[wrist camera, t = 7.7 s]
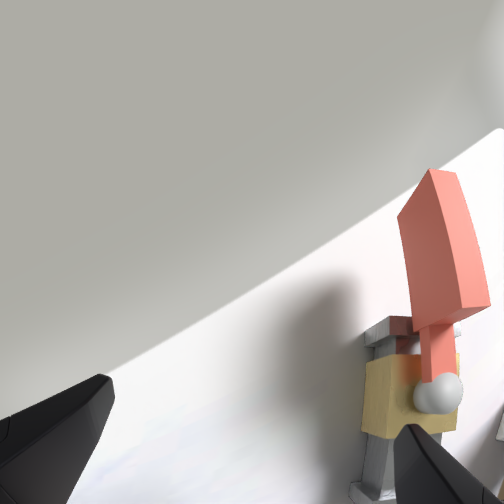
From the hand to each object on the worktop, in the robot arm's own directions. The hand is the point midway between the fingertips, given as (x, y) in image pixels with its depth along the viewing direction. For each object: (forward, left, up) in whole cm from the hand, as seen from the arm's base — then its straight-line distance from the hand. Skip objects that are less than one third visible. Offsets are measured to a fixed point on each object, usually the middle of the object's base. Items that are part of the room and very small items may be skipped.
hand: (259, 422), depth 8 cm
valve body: (-1, -10, -13) cm, 17 cm away
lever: (+6, -10, -8) cm, 14 cm away
